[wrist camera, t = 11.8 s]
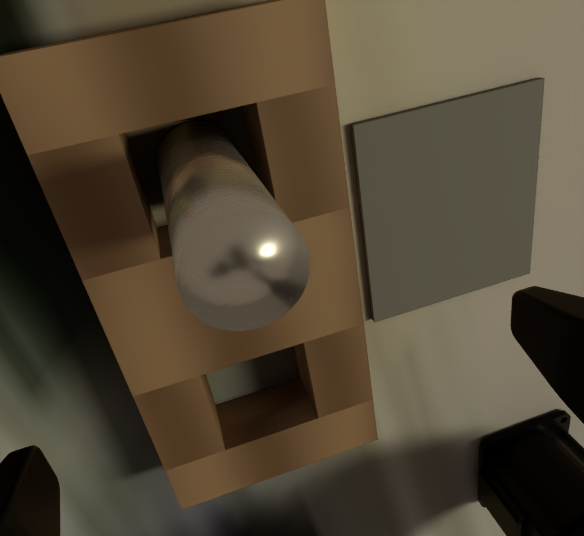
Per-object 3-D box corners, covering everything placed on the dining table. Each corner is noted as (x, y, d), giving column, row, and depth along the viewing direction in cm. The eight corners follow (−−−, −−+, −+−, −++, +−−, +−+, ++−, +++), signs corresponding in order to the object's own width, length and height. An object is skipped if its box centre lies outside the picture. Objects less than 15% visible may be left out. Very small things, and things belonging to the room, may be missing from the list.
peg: (225, 113, 19) (299, 193, 11) (242, 186, 21) (318, 309, 12) (147, 131, 19) (158, 231, 10) (170, 205, 20) (196, 347, 12)
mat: (539, 77, 22) (544, 78, 22) (525, 270, 27) (529, 273, 27) (350, 123, 21) (353, 125, 21) (372, 319, 26) (374, 322, 25)
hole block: (296, -5, 18) (324, -9, 16) (355, 400, 28) (377, 439, 25) (8, 52, 16) (-15, 59, 14) (177, 460, 26) (182, 509, 24)
